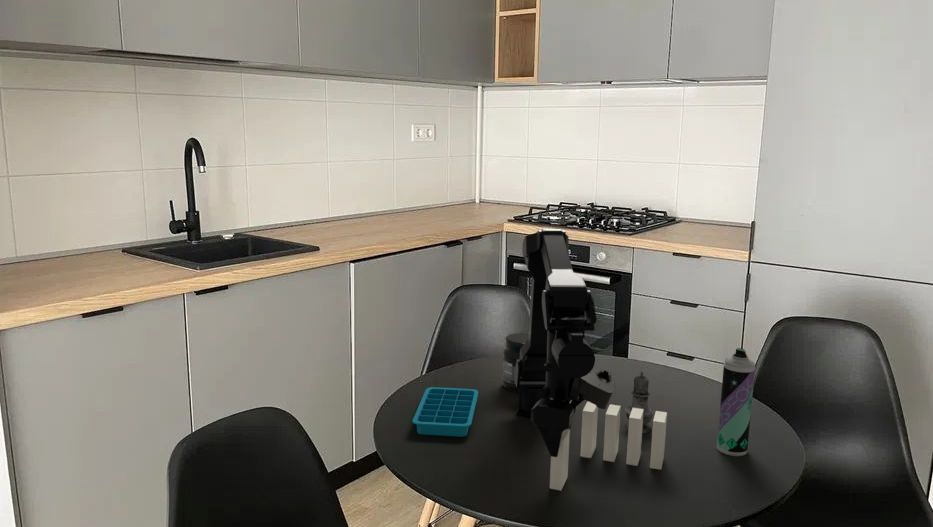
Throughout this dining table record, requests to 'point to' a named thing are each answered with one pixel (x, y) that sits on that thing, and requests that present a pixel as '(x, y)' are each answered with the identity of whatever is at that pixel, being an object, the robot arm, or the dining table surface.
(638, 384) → the chess piece
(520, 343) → the supplement container
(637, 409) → the domino
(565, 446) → the domino
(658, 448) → the domino
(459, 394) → the ice cube tray
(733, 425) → the spray can
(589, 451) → the domino
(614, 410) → the domino
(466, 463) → the dining table surface
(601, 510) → the dining table surface
